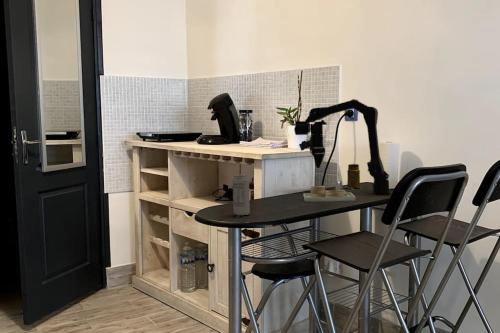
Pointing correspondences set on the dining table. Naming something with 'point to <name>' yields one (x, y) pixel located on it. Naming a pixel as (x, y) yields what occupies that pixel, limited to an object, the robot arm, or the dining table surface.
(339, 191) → the wooden block frame
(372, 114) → the robot arm
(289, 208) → the dining table surface
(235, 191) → the energy drink can
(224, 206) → the dining table surface
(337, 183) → the cylinder
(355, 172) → the condiment
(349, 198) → the tray
